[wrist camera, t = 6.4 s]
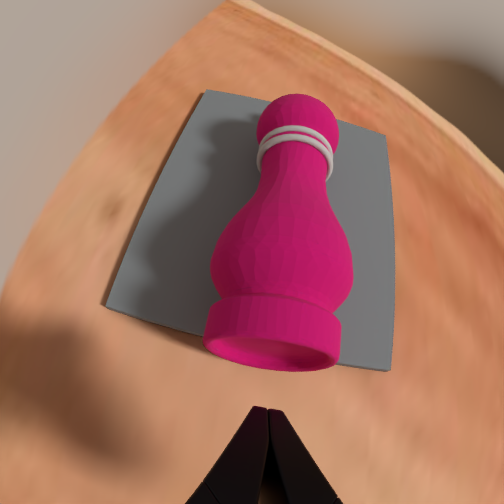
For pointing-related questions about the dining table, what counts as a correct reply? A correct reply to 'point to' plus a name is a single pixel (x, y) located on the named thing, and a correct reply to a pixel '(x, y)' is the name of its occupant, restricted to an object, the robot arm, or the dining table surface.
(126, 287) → the mat
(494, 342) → the dining table surface
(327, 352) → the pepper mill
